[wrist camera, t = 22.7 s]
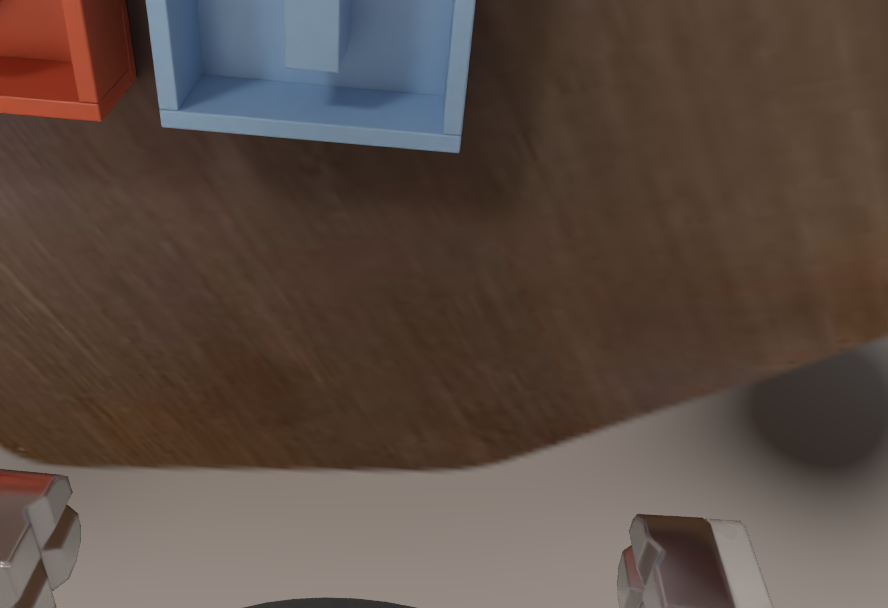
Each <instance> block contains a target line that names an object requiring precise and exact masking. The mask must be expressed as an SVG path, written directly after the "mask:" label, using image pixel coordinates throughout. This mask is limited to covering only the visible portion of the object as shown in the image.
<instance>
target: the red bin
mask: <svg viewBox="0 0 888 608" xmlns="http://www.w3.org/2000/svg"><path fill="white" fill-rule="evenodd" d="M0 5H1V6H0V113H6V114H18V115H29V116H40V117H52V118H63V119H75V120H86V121H97V122H100V121H102V120H103V119H104V117H105V116H106V115H107V114H108V113H109V111H110V110H111V109H112V108H113V106H114V105H115V104H116V103H117V102H118V100H119V99H120V98H121V97H122V95H123V94H124V93H125V92H126V91H127V89H128V88H129V87H130V86H131V84H132V83H133V82H134V81H135V80H136V78H137V77H136V70H135V62H134V55H133V48H132V41H131V33H130V26H129V19H128V12H127V4H126V0H0Z"/></svg>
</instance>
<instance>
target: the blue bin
mask: <svg viewBox="0 0 888 608" xmlns="http://www.w3.org/2000/svg"><path fill="white" fill-rule="evenodd" d="M475 3H476V0H351V34H350V40H349V43H348V46H347V49H346V52H345V55H344V58H343V61H342V64H341V68H340V71H339V73H332V72H322V71H311V70H301V69H290V68H285V62H284V19H283V0H146V8H147V16H148V24H149V32H150V40H151V48H152V56H153V64H154V72H155V80H156V88H157V96H158V104H159V109H160V119H161V126H162V127H166V128H177V129H188V130H200V131H211V132H223V133H234V134H245V135H257V136H268V137H279V138H291V139H302V140H314V141H325V142H336V143H348V144H359V145H371V146H382V147H393V148H405V149H416V150H427V151H439V152H450V153H459V152H460V146H461V134H462V127H463V117H464V108H465V98H466V89H467V79H468V70H469V60H470V51H471V41H472V32H473V22H474V13H475Z"/></svg>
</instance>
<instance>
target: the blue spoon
mask: <svg viewBox="0 0 888 608" xmlns="http://www.w3.org/2000/svg"><path fill="white" fill-rule="evenodd" d="M283 19H284V62H285V68H290V69H301V70H311V71H322V72H332V73H339V71H340V68H341V64H342V61H343V58H344V55H345V52H346V49H347V46H348V43H349V40H350V34H351V0H283Z"/></svg>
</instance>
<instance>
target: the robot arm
mask: <svg viewBox="0 0 888 608" xmlns="http://www.w3.org/2000/svg"><path fill="white" fill-rule="evenodd" d="M71 494H72V489H71V486H70V483H69V480H68V477H67V476H63V475H57V474H47V473H37V472H26V471H16V470H5V469H0V608H56V603H55V600H54V597H53V593H52V591H54V590H55V589H56V588H58V587H59V586H60V585H62V584H63V583H64V582H66V581H67V580H68V579H69V577H70V575H71V573H72V570H73V568H74V566H75V563H76V561H77V556H78V552H79V547H80V542H81V525H80V521H79V516H78V513H77V512H75V511H74V510H73V509H72V508H71V507H69V506H68V505H67V503H68V501H69V499H70V497H71ZM629 533H630V539H631V544H632V545H631V546H629V547H628V548H627V549H625V550H624V551H623V552H622V556H621V559H620V563H619V568H618V580H617V591H618V603H619V608H774V607H773V604H772V601H771V599H770V596H769V593H768V590H767V587H766V584H765V581H764V578H763V576H762V573H761V570H760V567H759V564H758V561H757V558H756V555H755V552H754V550H753V547H752V544H751V541H750V539H749V535H748V533H747V530H746V527H745V526H744V525H743V523H742V522H741V521H734V520H720V519H703V518H695V517H679V516H662V515H660V516H659V515H644V514H637V515H636V516H635V518H634V519H633V521H632V524H631V527H630V530H629Z"/></svg>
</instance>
